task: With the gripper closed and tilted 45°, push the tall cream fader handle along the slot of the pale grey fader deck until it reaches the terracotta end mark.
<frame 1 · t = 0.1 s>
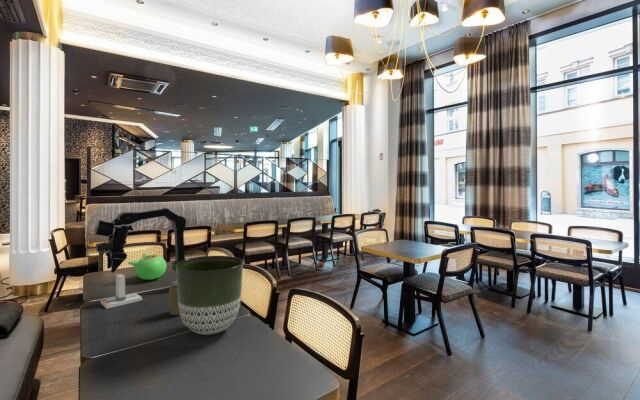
hand: (110, 270, 152), 15 cm above the table, tool pointing down, fingers open, 9 cm apart
fader handle: (120, 286, 153), point 7 cm above the table, slide at 0.0 cm
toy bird: (150, 279, 191), on the table
planter: (210, 331, 126), on the table
squeeze bottle: (177, 313, 142), on the table
fader deck: (121, 301, 154), on the table
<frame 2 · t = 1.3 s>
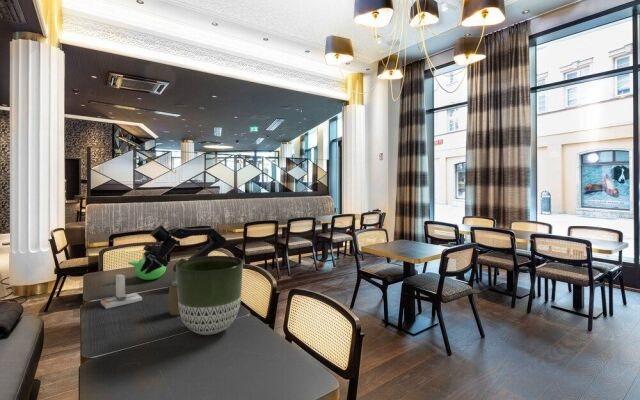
hand: (143, 272, 161), 13 cm above the table, tool tilted 45°, fingers open, 6 cm apart
nothing on the table moved.
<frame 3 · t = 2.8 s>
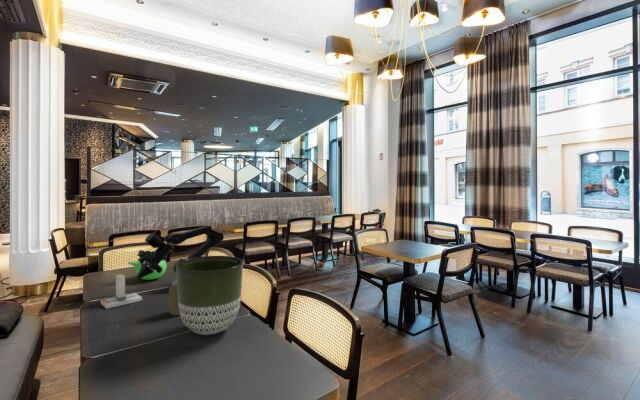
hand: (137, 278, 159), 10 cm above the table, tool tilted 45°, fingers closed
nothing on the table moved.
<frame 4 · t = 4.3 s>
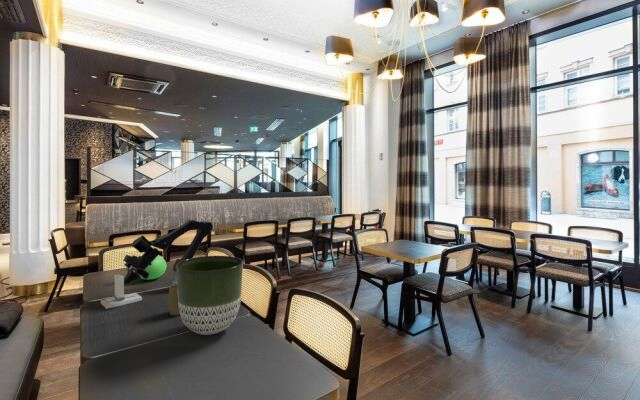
hand: (122, 284, 154), 8 cm above the table, tool tilted 45°, fingers closed, pressing on fader handle
fader handle: (119, 287, 153), point 7 cm above the table, slide at 0.5 cm, touching gripper
everything else where it was.
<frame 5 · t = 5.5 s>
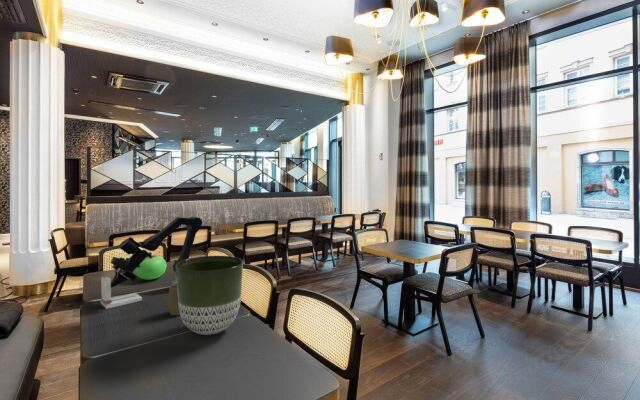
hand: (109, 287, 150), 8 cm above the table, tool tilted 45°, fingers closed
fader handle: (106, 289, 149), point 7 cm above the table, slide at 5.9 cm
everything else where it was.
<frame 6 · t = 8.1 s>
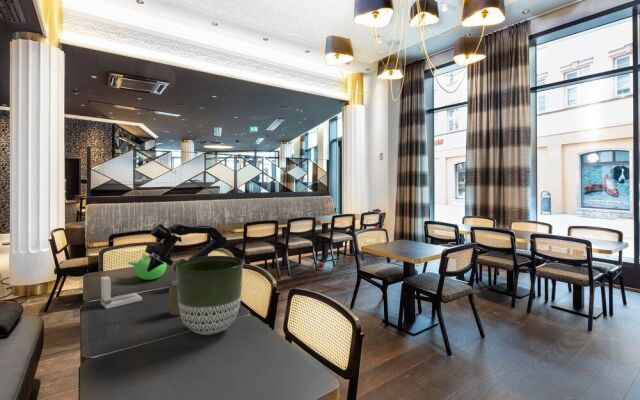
hand: (147, 271, 163), 12 cm above the table, tool tilted 40°, fingers closed
nothing on the table moved.
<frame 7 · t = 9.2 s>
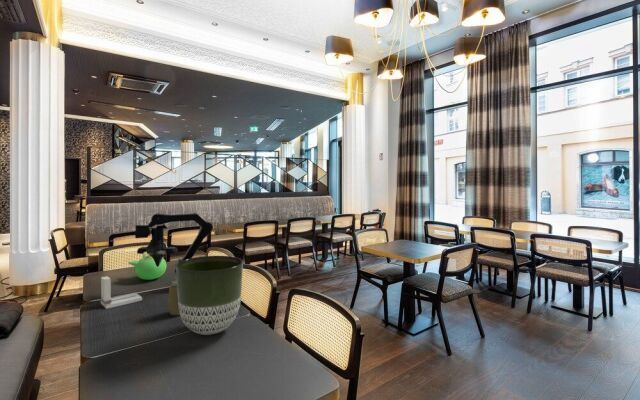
hand: (157, 266, 170), 13 cm above the table, tool pointing down, fingers closed
nothing on the table moved.
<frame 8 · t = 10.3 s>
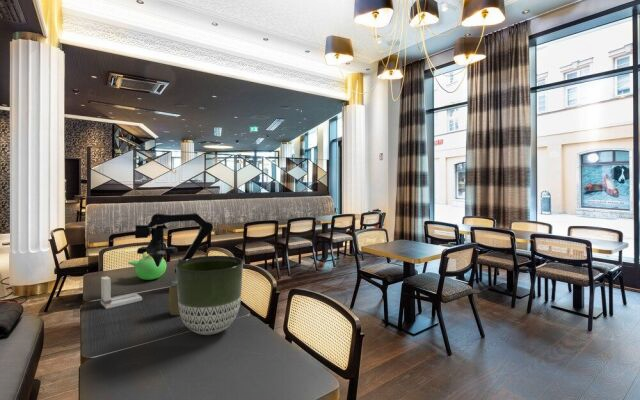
hand: (157, 266, 170), 13 cm above the table, tool pointing down, fingers closed
nothing on the table moved.
at the end: fader handle slide at 5.9 cm; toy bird moved 0.2 cm from its start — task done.
